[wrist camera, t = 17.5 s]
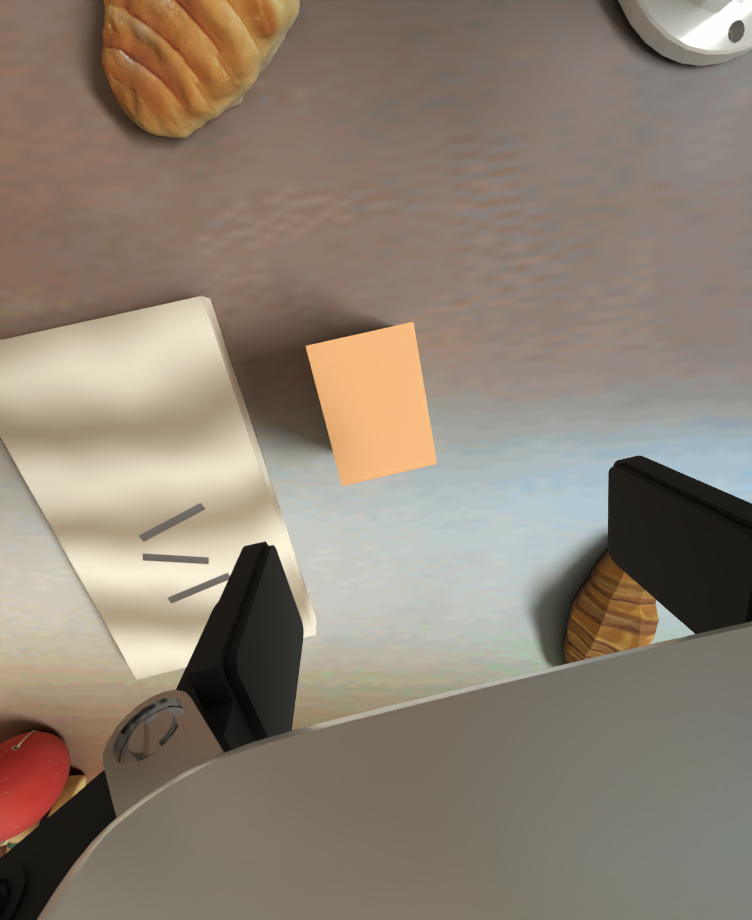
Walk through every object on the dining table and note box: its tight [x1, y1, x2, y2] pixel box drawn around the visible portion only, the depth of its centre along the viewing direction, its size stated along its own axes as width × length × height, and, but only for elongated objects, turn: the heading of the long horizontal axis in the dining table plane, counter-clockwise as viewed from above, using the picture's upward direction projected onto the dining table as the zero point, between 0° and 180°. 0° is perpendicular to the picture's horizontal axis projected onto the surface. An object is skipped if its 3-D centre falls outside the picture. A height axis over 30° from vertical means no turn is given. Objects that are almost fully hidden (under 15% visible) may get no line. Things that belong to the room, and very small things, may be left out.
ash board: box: [0, 296, 316, 679], centre depth 24 cm, size 23×13×2 cm, turn 12°
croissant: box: [563, 549, 659, 664], centre depth 29 cm, size 14×7×5 cm, turn 169°
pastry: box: [102, 0, 300, 138], centre depth 16 cm, size 9×7×4 cm
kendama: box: [0, 730, 86, 854], centre depth 29 cm, size 8×6×18 cm
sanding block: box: [306, 322, 437, 486], centre depth 21 cm, size 7×5×6 cm
